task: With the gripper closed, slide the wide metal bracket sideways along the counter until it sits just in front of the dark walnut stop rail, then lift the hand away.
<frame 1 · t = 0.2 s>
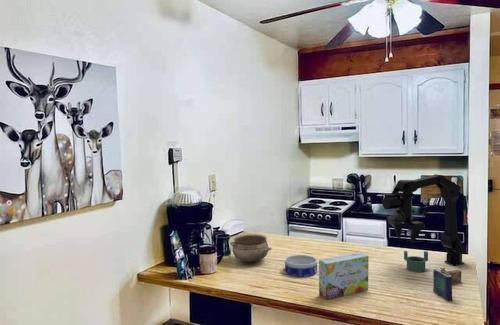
hand: (405, 240, 179), 14 cm above the counter, tool pointing down, fingers open, 9 cm apart
stop rail: (448, 283, 163), on the counter
snack box: (344, 293, 158), on the counter
cooking pot: (251, 261, 200), on the counter
flask: (442, 296, 151), on the counter
bracket: (415, 269, 181), on the counter
dog bowl: (301, 272, 184), on the counter
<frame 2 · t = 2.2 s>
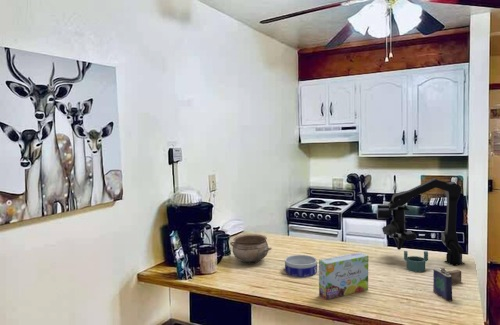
hand: (399, 249, 192), 6 cm above the counter, tool pointing down, fingers closed
nothing on the counter moved.
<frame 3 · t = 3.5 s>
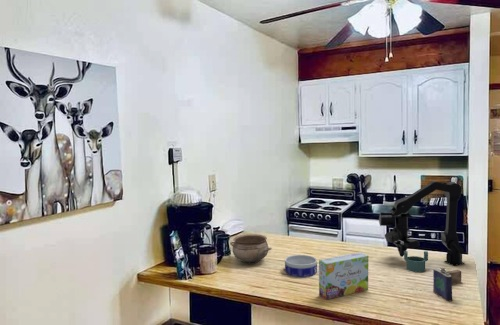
hand: (401, 256, 191), 3 cm above the counter, tool pointing down, fingers closed
nothing on the counter moved.
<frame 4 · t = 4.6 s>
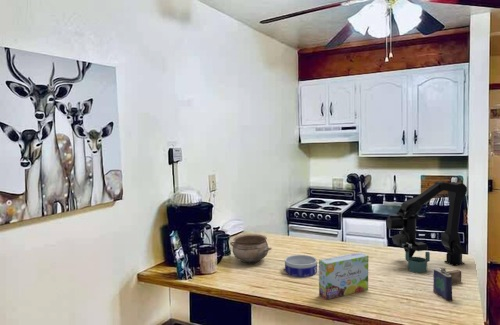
hand: (409, 259, 185), 3 cm above the counter, tool pointing down, fingers closed
bracket: (417, 270, 180), on the counter, touching gripper
everything else where it was.
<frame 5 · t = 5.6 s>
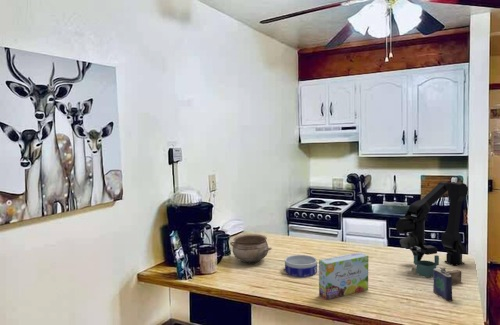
hand: (417, 263, 180), 3 cm above the counter, tool pointing down, fingers closed
bracket: (425, 274, 175), on the counter, touching gripper
everything else where it was.
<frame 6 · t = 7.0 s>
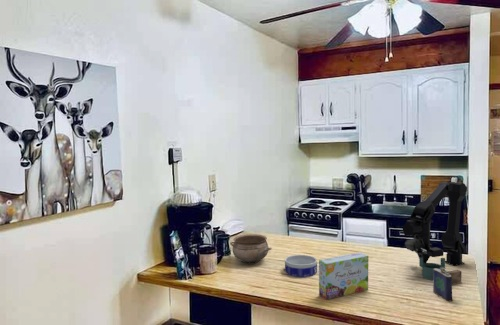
hand: (423, 265, 176), 3 cm above the counter, tool pointing down, fingers closed
bracket: (431, 276, 172), on the counter, touching gripper
everything else where it was.
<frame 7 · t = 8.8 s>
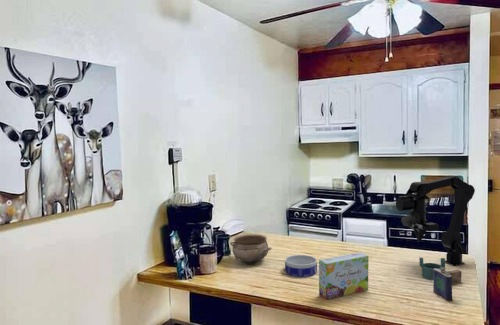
hand: (419, 241, 182), 13 cm above the counter, tool pointing down, fingers closed
bracket: (431, 277, 172), on the counter
everything else where it was.
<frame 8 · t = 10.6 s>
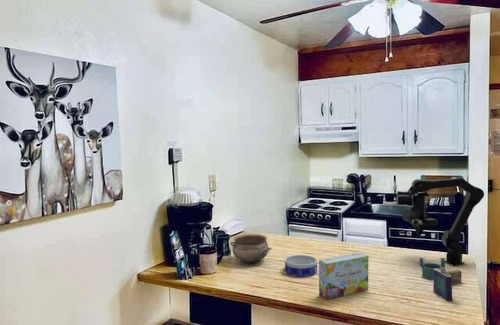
hand: (418, 236, 189), 13 cm above the counter, tool pointing down, fingers closed
nothing on the counter moved.
at the end: bracket inside the target area (1.5 cm from its centre), on the counter; bracket moved 10.3 cm from its start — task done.
